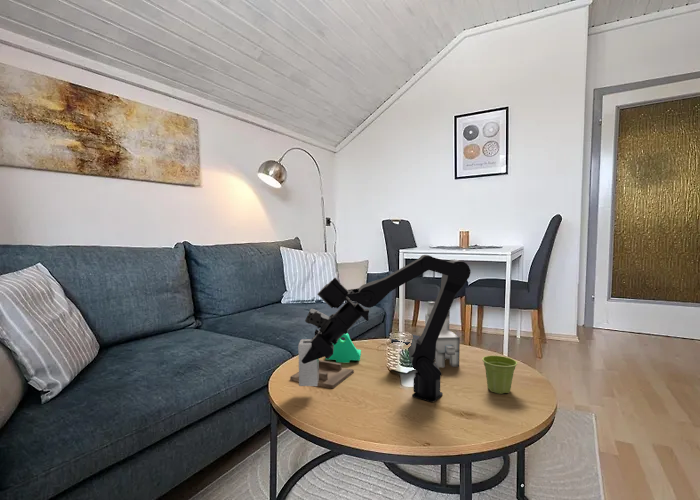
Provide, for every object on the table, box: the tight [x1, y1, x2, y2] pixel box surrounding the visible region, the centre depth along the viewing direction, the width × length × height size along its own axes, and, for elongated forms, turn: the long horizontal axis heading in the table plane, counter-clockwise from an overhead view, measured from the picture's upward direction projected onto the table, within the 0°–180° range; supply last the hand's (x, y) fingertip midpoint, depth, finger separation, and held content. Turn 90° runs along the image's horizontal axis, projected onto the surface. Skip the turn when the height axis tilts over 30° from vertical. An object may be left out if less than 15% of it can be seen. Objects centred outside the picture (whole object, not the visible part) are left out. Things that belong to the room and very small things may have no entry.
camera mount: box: [325, 332, 362, 364], centre depth 138 cm, size 12×8×10 cm, turn 85°
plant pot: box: [481, 355, 518, 395], centre depth 111 cm, size 9×9×9 cm
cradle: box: [289, 359, 355, 390], centre depth 122 cm, size 15×14×3 cm
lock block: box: [298, 338, 320, 387], centre depth 107 cm, size 5×5×12 cm
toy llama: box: [424, 301, 461, 368], centre depth 136 cm, size 8×18×20 cm, turn 5°
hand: (304, 359), depth 107 cm, fingers closed on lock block, 5 cm apart
